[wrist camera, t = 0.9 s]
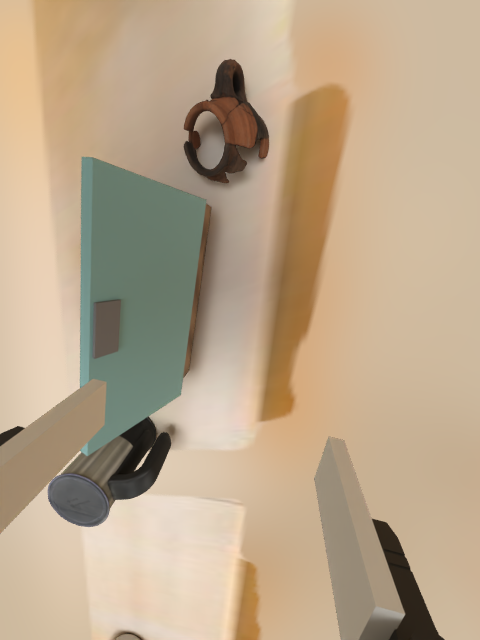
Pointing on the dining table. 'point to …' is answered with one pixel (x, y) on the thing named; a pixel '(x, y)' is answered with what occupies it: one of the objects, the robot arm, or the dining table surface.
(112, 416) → the lid
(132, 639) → the pump dispenser
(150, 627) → the dining table surface
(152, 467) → the milk frother
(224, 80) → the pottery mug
